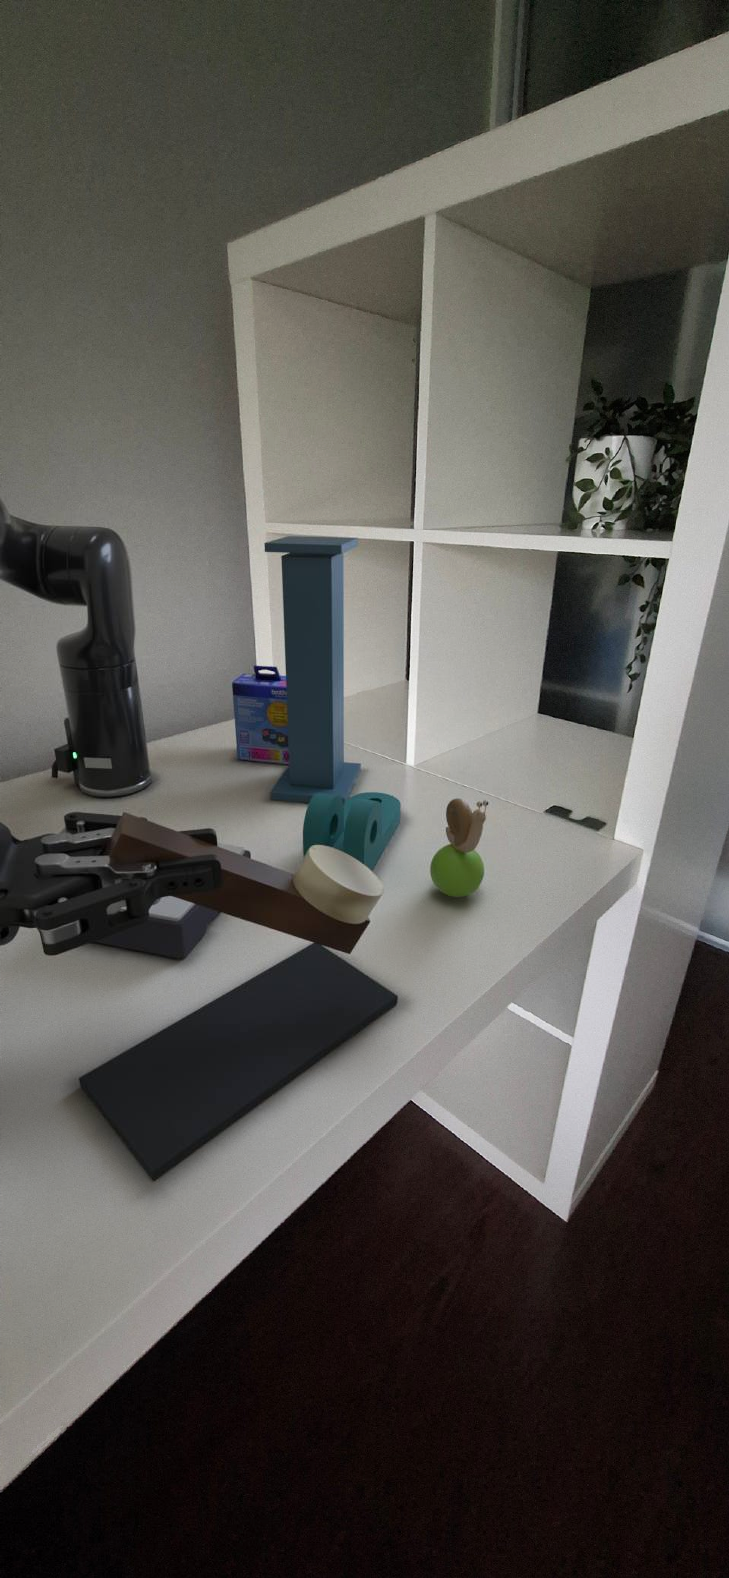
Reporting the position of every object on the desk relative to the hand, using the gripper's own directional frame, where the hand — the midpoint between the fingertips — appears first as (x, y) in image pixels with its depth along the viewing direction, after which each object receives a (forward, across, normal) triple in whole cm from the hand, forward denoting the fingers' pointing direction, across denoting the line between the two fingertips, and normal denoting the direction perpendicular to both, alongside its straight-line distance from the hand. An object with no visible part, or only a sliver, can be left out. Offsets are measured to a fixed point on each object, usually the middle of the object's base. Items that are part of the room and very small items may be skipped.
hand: (217, 857), depth 45 cm
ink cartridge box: (+11, +57, +16) cm, 60 cm away
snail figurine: (+24, +15, +16) cm, 33 cm away
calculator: (-4, +20, +16) cm, 26 cm away
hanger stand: (+16, +45, +16) cm, 51 cm away
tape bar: (+1, 0, +4) cm, 4 cm away
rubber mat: (+1, 0, +16) cm, 16 cm away
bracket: (+17, +28, +16) cm, 37 cm away
